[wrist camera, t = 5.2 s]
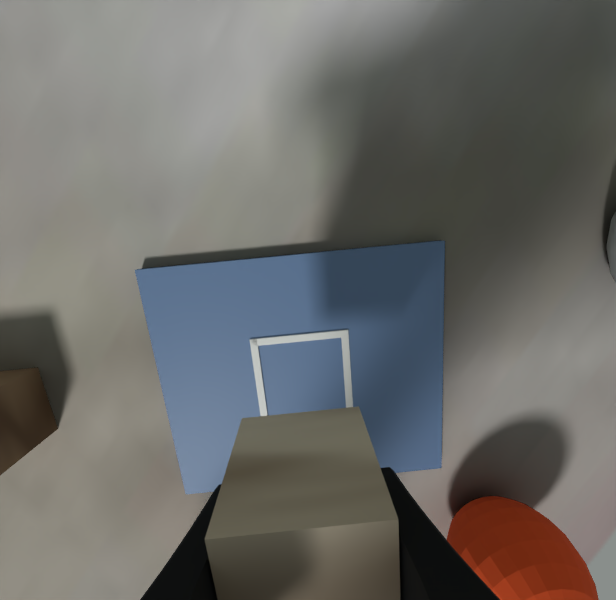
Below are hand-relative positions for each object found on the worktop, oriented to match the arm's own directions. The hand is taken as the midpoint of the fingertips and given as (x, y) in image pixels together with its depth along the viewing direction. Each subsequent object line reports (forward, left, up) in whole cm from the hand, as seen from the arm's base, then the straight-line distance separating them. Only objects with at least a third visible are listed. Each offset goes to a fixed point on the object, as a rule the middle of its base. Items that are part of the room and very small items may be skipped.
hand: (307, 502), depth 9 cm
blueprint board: (0, 0, -8) cm, 8 cm away
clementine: (-12, -10, -9) cm, 18 cm away
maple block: (0, 0, -2) cm, 2 cm away
